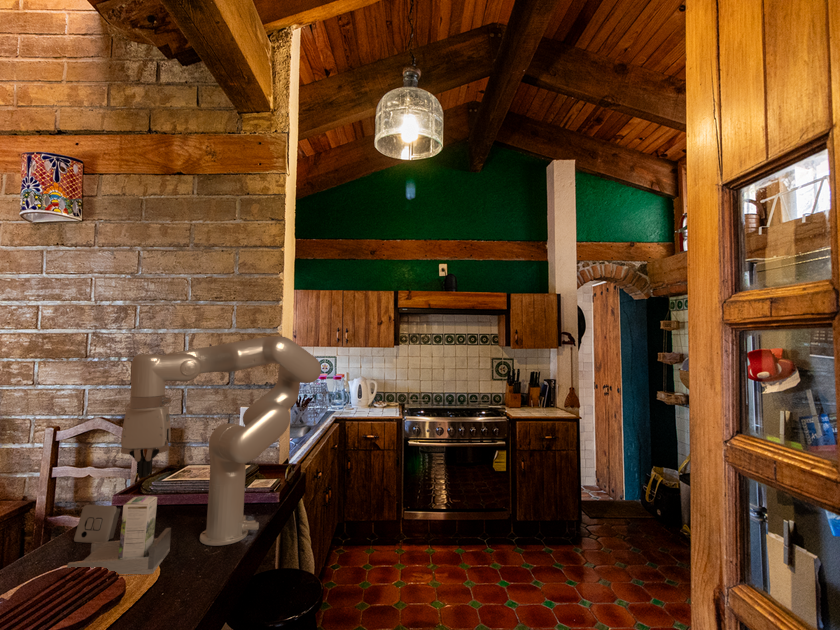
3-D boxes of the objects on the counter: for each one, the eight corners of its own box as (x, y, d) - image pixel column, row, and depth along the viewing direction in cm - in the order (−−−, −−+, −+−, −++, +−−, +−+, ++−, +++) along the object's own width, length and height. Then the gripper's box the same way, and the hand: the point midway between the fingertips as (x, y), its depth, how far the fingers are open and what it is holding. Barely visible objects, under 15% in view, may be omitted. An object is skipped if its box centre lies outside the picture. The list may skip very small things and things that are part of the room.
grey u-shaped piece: (169, 550, 116) (171, 527, 116) (152, 573, 104) (154, 547, 104) (92, 556, 112) (94, 531, 112) (65, 580, 100) (67, 553, 101)
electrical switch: (72, 542, 119) (78, 506, 121) (87, 536, 124) (93, 502, 126) (105, 544, 119) (110, 508, 120) (119, 538, 124) (124, 503, 125)
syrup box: (127, 555, 110) (132, 496, 112) (153, 554, 112) (157, 495, 113) (117, 566, 105) (121, 504, 106) (144, 564, 106) (148, 503, 107)
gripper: (184, 400, 117) (181, 470, 116) (121, 401, 114) (117, 473, 113) (174, 404, 110) (171, 479, 109) (107, 405, 107) (103, 482, 105)
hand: (144, 476), depth 111 cm, fingers closed
